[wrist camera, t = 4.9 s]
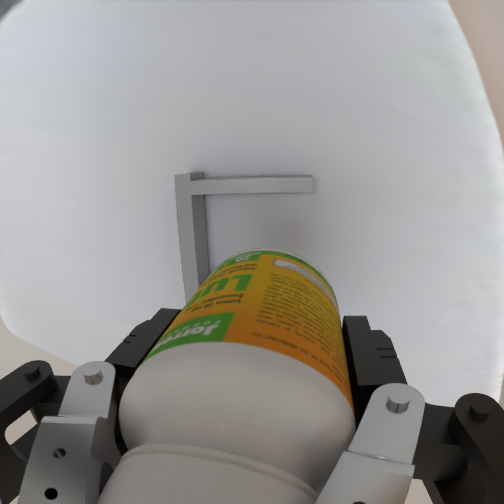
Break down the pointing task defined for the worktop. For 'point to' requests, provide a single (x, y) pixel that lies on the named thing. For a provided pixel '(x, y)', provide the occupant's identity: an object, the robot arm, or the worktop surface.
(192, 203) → the grey two-tier shelf
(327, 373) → the supplement bottle
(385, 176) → the worktop surface
